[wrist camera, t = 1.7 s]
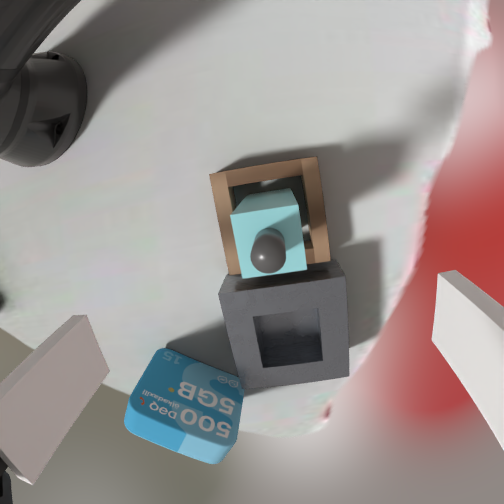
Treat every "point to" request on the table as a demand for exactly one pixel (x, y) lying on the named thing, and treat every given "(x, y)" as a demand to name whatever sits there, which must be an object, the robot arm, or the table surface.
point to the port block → (288, 325)
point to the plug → (268, 234)
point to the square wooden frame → (305, 167)
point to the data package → (186, 407)
